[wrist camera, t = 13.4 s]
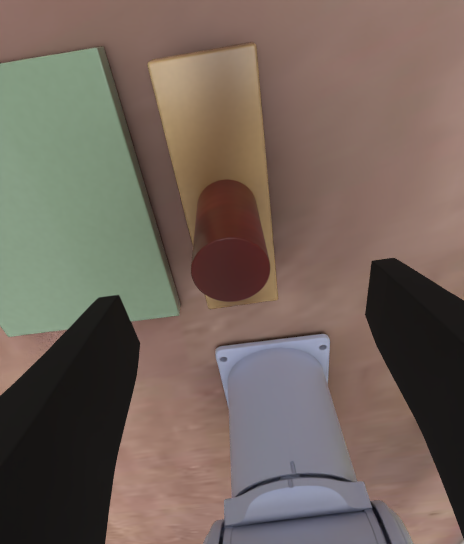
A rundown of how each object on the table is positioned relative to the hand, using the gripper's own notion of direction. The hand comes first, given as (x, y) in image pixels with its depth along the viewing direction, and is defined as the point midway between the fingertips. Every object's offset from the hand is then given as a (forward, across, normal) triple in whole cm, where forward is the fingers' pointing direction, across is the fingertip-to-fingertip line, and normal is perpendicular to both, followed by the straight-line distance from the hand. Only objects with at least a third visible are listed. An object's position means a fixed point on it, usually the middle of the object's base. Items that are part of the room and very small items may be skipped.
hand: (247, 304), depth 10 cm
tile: (+9, +10, 0) cm, 13 cm away
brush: (+9, 0, 0) cm, 9 cm away
